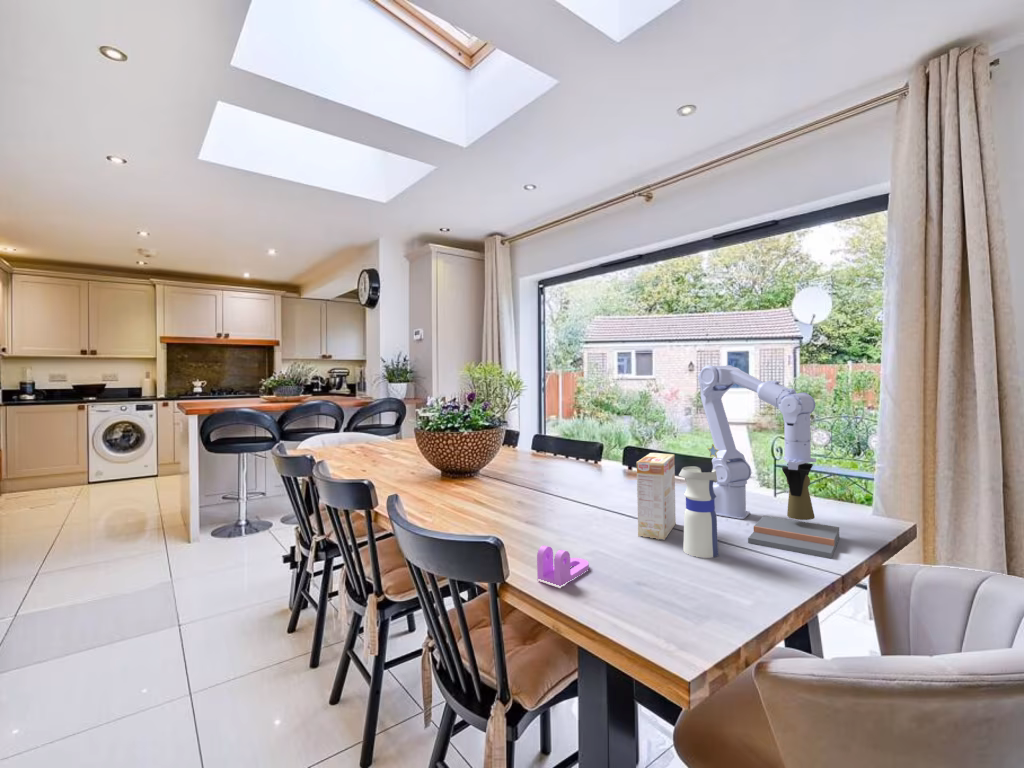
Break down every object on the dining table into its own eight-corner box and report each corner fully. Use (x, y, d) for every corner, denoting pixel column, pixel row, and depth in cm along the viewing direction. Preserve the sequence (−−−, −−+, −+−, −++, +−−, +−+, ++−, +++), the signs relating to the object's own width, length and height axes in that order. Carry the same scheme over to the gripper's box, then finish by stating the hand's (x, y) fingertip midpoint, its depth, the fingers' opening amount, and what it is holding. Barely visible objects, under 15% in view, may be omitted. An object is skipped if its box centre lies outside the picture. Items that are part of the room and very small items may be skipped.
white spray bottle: (690, 542, 118) (688, 441, 117) (725, 551, 112) (724, 444, 111) (674, 551, 112) (672, 445, 112) (710, 561, 106) (709, 448, 105)
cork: (808, 512, 125) (805, 470, 125) (819, 519, 119) (816, 475, 119) (783, 513, 126) (780, 471, 125) (793, 520, 120) (789, 476, 119)
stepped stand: (748, 542, 117) (748, 532, 117) (763, 525, 130) (763, 515, 130) (831, 558, 106) (831, 547, 106) (839, 537, 119) (839, 527, 119)
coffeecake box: (650, 520, 136) (649, 452, 136) (676, 524, 132) (675, 453, 132) (636, 536, 123) (635, 461, 123) (664, 540, 119) (663, 463, 119)
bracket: (560, 589, 94) (559, 554, 94) (537, 582, 97) (536, 548, 97) (593, 568, 104) (592, 536, 104) (571, 562, 107) (571, 531, 107)
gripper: (811, 445, 114) (812, 501, 114) (819, 438, 125) (820, 489, 125) (778, 443, 118) (778, 497, 118) (788, 436, 129) (789, 486, 130)
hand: (797, 493), depth 122 cm, fingers closed on cork, 5 cm apart
